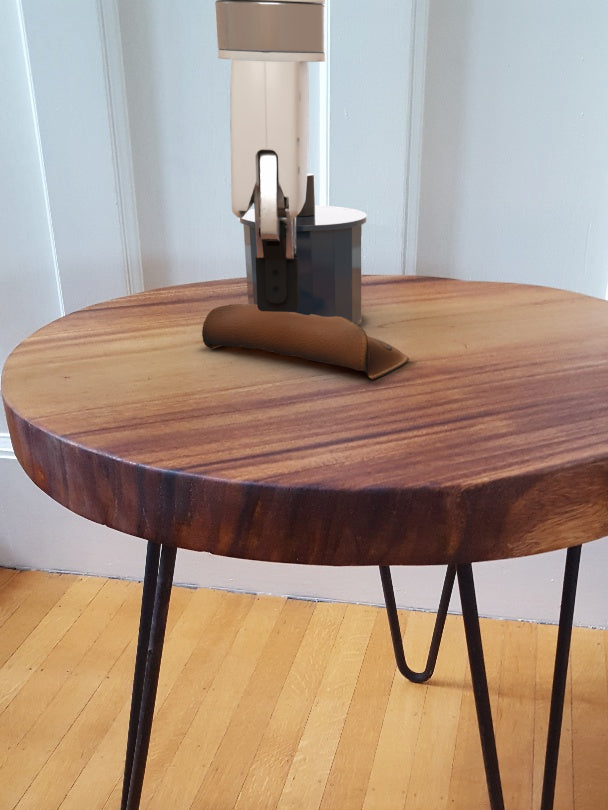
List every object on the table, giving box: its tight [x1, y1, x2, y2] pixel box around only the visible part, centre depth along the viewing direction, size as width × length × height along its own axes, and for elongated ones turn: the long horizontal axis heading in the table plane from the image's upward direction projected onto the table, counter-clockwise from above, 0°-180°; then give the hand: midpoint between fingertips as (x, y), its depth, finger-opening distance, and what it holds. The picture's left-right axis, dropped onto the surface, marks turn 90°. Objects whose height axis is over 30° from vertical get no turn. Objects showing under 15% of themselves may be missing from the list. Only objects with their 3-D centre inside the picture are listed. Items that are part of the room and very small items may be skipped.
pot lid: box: [238, 172, 368, 231], centre depth 92 cm, size 12×12×5 cm
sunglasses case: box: [201, 303, 409, 380], centre depth 86 cm, size 18×7×7 cm, turn 59°
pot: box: [242, 224, 363, 326], centre depth 95 cm, size 11×11×10 cm
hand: (278, 308), depth 77 cm, fingers closed
